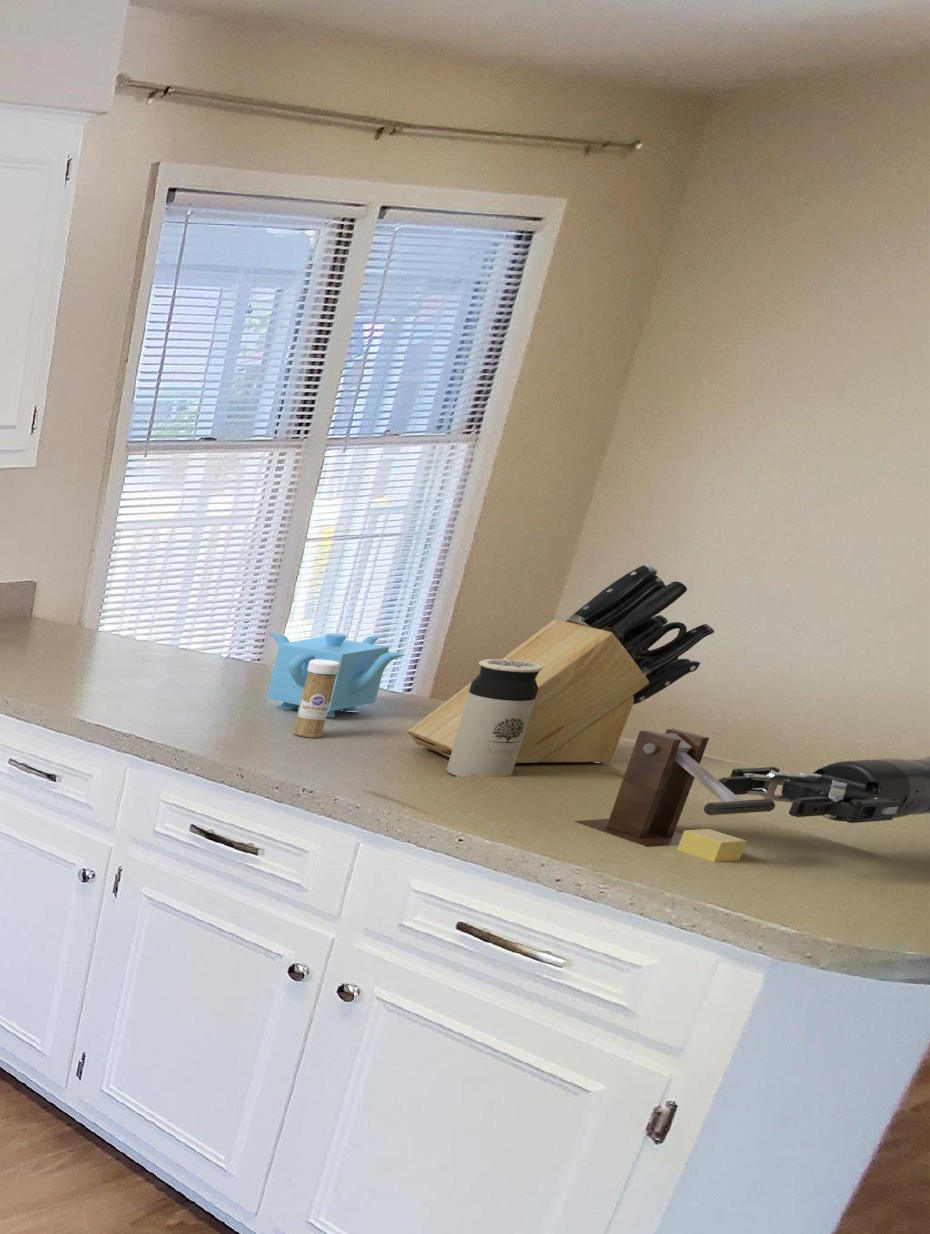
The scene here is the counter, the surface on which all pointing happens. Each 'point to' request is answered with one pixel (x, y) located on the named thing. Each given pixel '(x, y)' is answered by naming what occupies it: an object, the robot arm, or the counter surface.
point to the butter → (711, 845)
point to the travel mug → (494, 718)
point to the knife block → (588, 673)
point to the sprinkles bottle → (316, 698)
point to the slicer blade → (717, 787)
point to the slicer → (652, 790)
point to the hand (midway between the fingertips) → (756, 797)
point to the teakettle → (352, 680)
